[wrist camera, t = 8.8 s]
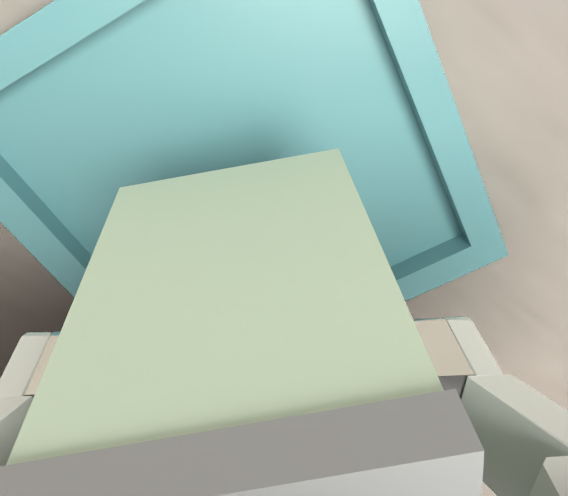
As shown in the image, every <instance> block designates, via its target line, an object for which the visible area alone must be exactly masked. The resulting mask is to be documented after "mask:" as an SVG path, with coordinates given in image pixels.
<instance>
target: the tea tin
mask: <svg viewBox="0 0 568 496" xmlns="http://www.w3.org/2000/svg"><path fill="white" fill-rule="evenodd" d="M483 465H484V449H483V446H482V444H481V442H480V440H479V438H478V436H477V434H476V431H475V429H474V427H473V425H472V423H471V421H470V418H469V416H468V414H467V412H466V410H465V408H464V405H463V403H462V401H461V399H460V397H459V395H458V392H457V390H456V389H451V390H445V391H444V389H443V387H442V385H441V382H440V380H439V378H438V375H437V373H436V371H435V369H434V366H433V364H432V362H431V359H430V357H429V355H428V353H427V350H426V348H425V346H424V343H423V341H422V339H421V336H420V334H419V332H418V330H417V327H416V325H415V323H414V320H413V318H412V316H411V314H410V311H409V309H408V307H407V304H406V302H405V300H404V297H403V295H402V293H401V291H400V288H399V286H398V284H397V281H396V279H395V277H394V275H393V272H392V270H391V268H390V265H389V263H388V261H387V258H386V256H385V254H384V252H383V249H382V247H381V245H380V242H379V240H378V238H377V236H376V233H375V231H374V229H373V226H372V224H371V222H370V219H369V217H368V215H367V213H366V210H365V208H364V206H363V203H362V201H361V199H360V197H359V194H358V192H357V190H356V187H355V185H354V183H353V180H352V178H351V176H350V174H349V171H348V169H347V167H346V164H345V162H344V160H343V157H342V155H341V153H340V151H339V148H337V149H332V150H326V151H321V152H315V153H309V154H304V155H298V156H293V157H287V158H281V159H276V160H270V161H265V162H259V163H254V164H248V165H242V166H237V167H231V168H226V169H220V170H214V171H209V172H203V173H198V174H192V175H187V176H181V177H175V178H170V179H164V180H159V181H153V182H147V183H142V184H136V185H131V186H125V187H120V188H119V190H118V193H117V195H116V198H115V200H114V202H113V205H112V207H111V210H110V212H109V215H108V217H107V220H106V222H105V224H104V227H103V229H102V232H101V234H100V237H99V239H98V242H97V244H96V246H95V249H94V251H93V254H92V256H91V259H90V261H89V263H88V266H87V268H86V271H85V273H84V276H83V278H82V281H81V283H80V285H79V288H78V290H77V293H76V295H75V298H74V300H73V303H72V305H71V307H70V310H69V312H68V315H67V317H66V320H65V322H64V324H63V327H62V329H61V332H60V334H59V337H58V339H57V342H56V344H55V346H54V349H53V351H52V354H51V356H50V359H49V361H48V364H47V366H46V368H45V371H44V373H43V376H42V378H41V381H40V383H39V386H38V388H37V390H36V393H35V395H34V398H33V400H32V403H31V405H30V407H29V410H28V412H27V415H26V417H25V420H24V422H23V425H22V427H21V429H20V432H19V434H18V437H17V439H16V442H15V444H14V447H13V449H12V451H11V454H10V456H9V459H8V461H7V464H6V465H5V466H0V496H481V495H482V480H483Z"/></svg>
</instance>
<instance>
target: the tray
mask: <svg viewBox="0 0 568 496" xmlns="http://www.w3.org/2000/svg"><path fill="white" fill-rule="evenodd" d="M337 148H339V151H340V153H341V155H342V157H343V160H344V162H345V164H346V167H347V169H348V171H349V174H350V176H351V178H352V180H353V183H354V185H355V187H356V190H357V192H358V194H359V197H360V199H361V201H362V203H363V206H364V208H365V210H366V213H367V215H368V217H369V219H370V222H371V224H372V226H373V229H374V231H375V233H376V236H377V238H378V240H379V242H380V245H381V247H382V249H383V252H384V254H385V256H386V258H387V261H388V263H389V265H390V268H391V270H392V272H393V275H394V277H395V279H396V281H397V284H398V286H399V288H400V291H401V293H402V295H403V297H404V300H405V301H407V300H410V299H412V298H414V297H416V296H418V295H421V294H423V293H425V292H427V291H430V290H432V289H434V288H436V287H439V286H441V285H443V284H445V283H448V282H450V281H452V280H454V279H457V278H459V277H461V276H463V275H465V274H468V273H470V272H472V271H474V270H477V269H479V268H481V267H483V266H486V265H488V264H490V263H492V262H495V261H497V260H499V259H501V258H503V257H506V256H508V252H507V249H506V246H505V243H504V241H503V238H502V235H501V232H500V229H499V226H498V224H497V221H496V218H495V215H494V212H493V209H492V207H491V204H490V201H489V198H488V195H487V192H486V190H485V187H484V184H483V181H482V178H481V175H480V173H479V170H478V167H477V164H476V161H475V158H474V156H473V153H472V150H471V147H470V144H469V141H468V139H467V136H466V133H465V130H464V127H463V124H462V122H461V119H460V116H459V113H458V110H457V107H456V105H455V102H454V99H453V96H452V93H451V90H450V88H449V85H448V82H447V79H446V76H445V73H444V71H443V68H442V65H441V62H440V59H439V56H438V54H437V51H436V48H435V45H434V42H433V39H432V37H431V34H430V31H429V28H428V25H427V22H426V19H425V17H424V14H423V11H422V8H421V5H420V2H419V0H55V1H53V2H51V3H50V4H48V5H47V6H45V7H44V8H42V9H41V10H39V11H38V12H36V13H34V14H33V15H31V16H30V17H28V18H27V19H25V20H24V21H22V22H21V23H19V24H17V25H16V26H14V27H13V28H11V29H10V30H8V31H7V32H5V33H4V34H2V35H0V222H1V223H2V224H3V225H4V226H5V227H6V228H7V229H8V230H9V231H10V232H11V233H12V234H13V235H14V236H15V237H16V238H17V239H18V241H19V242H20V243H21V244H22V245H23V246H24V247H25V248H26V249H27V250H28V251H29V252H30V253H31V254H32V255H33V256H34V257H35V258H36V259H37V260H38V261H39V262H40V263H41V264H42V265H43V266H44V267H45V268H46V269H47V270H48V271H49V272H50V273H51V274H52V275H53V276H54V277H55V279H56V280H57V281H58V282H59V283H60V284H61V285H62V286H63V287H64V288H65V289H66V290H67V291H68V292H69V293H70V294H71V295H72V296H73V297H74V298H75V295H76V293H77V290H78V288H79V285H80V283H81V281H82V278H83V276H84V273H85V271H86V268H87V266H88V263H89V261H90V259H91V256H92V254H93V251H94V249H95V246H96V244H97V242H98V239H99V237H100V234H101V232H102V229H103V227H104V224H105V222H106V220H107V217H108V215H109V212H110V210H111V207H112V205H113V202H114V200H115V198H116V195H117V193H118V190H119V188H120V187H125V186H131V185H136V184H142V183H147V182H153V181H159V180H164V179H170V178H175V177H181V176H187V175H192V174H198V173H203V172H209V171H214V170H220V169H226V168H231V167H237V166H242V165H248V164H254V163H259V162H265V161H270V160H276V159H281V158H287V157H293V156H298V155H304V154H309V153H315V152H321V151H326V150H332V149H337Z"/></svg>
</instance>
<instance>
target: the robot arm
mask: <svg viewBox="0 0 568 496" xmlns="http://www.w3.org/2000/svg"><path fill="white" fill-rule="evenodd" d="M413 320H414V323H415V325H416V327H417V330H418V332H419V334H420V336H421V339H422V341H423V343H424V346H425V348H426V350H427V353H428V355H429V357H430V359H431V362H432V364H433V366H434V369H435V371H436V373H437V375H438V378H439V380H440V382H441V385H442V387H443V389H444V391H445V390H451V389H456V390H457V392H458V395H459V397H460V399H461V401H462V403H463V405H464V408H465V410H466V412H467V414H468V416H469V418H470V421H471V423H472V425H473V427H474V429H475V431H476V434H477V436H478V438H479V440H480V442H481V444H482V446H483V449H484V465H483V480H482V481H483V482H484V483H485V484H486V485H487V486H488V487H489V488H490V489H491V490H492V491H493V492H494V493H495V494H496V495H497V496H568V410H567V409H565V408H564V407H562V406H561V405H559V404H557V403H556V402H554V401H553V400H551V399H550V398H548V397H546V396H545V395H543V394H542V393H540V392H539V391H537V390H535V389H534V388H532V387H531V386H529V385H528V384H526V383H524V382H523V381H521V380H520V379H518V378H517V377H515V376H513V375H512V374H503V372H502V371H501V369H500V367H499V365H498V364H497V362H496V360H495V359H494V357H493V355H492V354H491V352H490V350H489V348H488V347H487V345H486V343H485V342H484V340H483V338H482V336H481V335H480V333H479V331H478V330H477V328H476V326H475V325H474V323H473V321H472V319H470V318H469V317H467V316H462V317H444V318H442V319H441V318H434V319H413ZM60 332H61V331H60ZM60 332H27V333H26V334H24V335H23V336H22V337H21V338H20V340H19V342H18V344H17V346H16V348H15V350H14V352H13V354H12V356H11V358H10V360H9V362H8V364H7V366H6V368H5V370H4V372H3V374H2V376H1V378H0V466H5V465H6V464H7V461H8V459H9V456H10V454H11V451H12V449H13V447H14V444H15V442H16V439H17V437H18V434H19V432H20V429H21V427H22V425H23V422H24V420H25V417H26V415H27V412H28V410H29V407H30V405H31V403H32V400H33V398H34V395H35V393H36V390H37V388H38V386H39V383H40V381H41V378H42V376H43V373H44V371H45V368H46V366H47V364H48V361H49V359H50V356H51V354H52V351H53V349H54V346H55V344H56V342H57V339H58V337H59V334H60Z"/></svg>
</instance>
